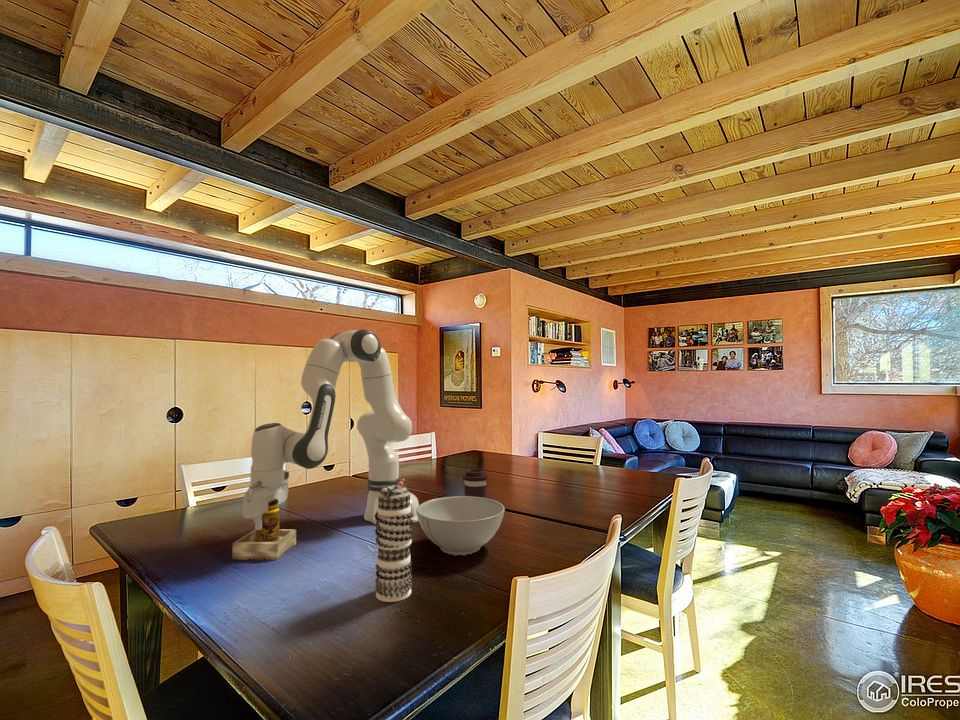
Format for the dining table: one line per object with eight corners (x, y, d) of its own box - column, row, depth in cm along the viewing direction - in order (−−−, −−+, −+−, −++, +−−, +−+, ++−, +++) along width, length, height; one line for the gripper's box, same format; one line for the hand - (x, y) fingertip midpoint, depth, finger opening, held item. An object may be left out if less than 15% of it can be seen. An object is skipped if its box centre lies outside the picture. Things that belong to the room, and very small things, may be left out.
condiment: (268, 546, 127) (269, 504, 128) (244, 543, 130) (245, 501, 130) (286, 537, 134) (287, 497, 135) (263, 534, 136) (264, 495, 137)
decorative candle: (377, 606, 99) (378, 493, 100) (370, 588, 108) (371, 485, 109) (417, 598, 103) (417, 489, 104) (407, 581, 111) (408, 481, 112)
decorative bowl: (399, 558, 126) (399, 515, 126) (439, 528, 151) (439, 493, 151) (487, 572, 117) (487, 525, 117) (515, 538, 142) (514, 500, 142)
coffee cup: (465, 505, 179) (465, 468, 180) (489, 506, 178) (489, 468, 179) (460, 512, 169) (460, 473, 170) (486, 513, 168) (486, 473, 169)
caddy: (296, 544, 137) (296, 529, 137) (277, 559, 125) (277, 543, 125) (254, 543, 137) (255, 529, 138) (232, 559, 125) (232, 543, 126)
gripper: (259, 486, 122) (257, 537, 121) (292, 471, 142) (291, 514, 142) (236, 486, 122) (235, 537, 121) (273, 471, 142) (272, 514, 142)
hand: (265, 525), depth 132 cm, fingers closed on condiment, 6 cm apart
